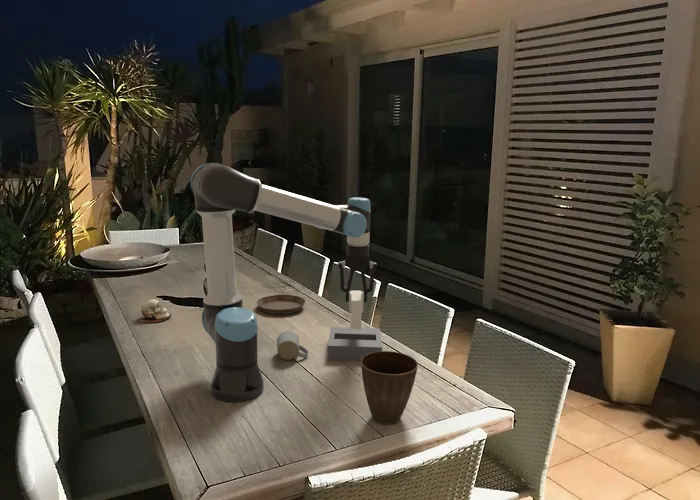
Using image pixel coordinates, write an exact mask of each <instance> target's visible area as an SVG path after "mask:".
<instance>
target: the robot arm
mask: <svg viewBox="0 0 700 500" xmlns="http://www.w3.org/2000/svg"><path fill="white" fill-rule="evenodd" d="M190 188H191V192H192V194H193V195H194V204H195V206H194V207H195V212H196V213H197V214H199V215H200V216H201V222H202V223H201V225H202V237H203V248H204V249H203V250H204V261H205V274H206V286H207V288H206V289H207V295H206V296H205V297H204V298H203V299H202V300H203V301H202V302H203V309H202V313H201V323H202V326H203V329H204V330H205V332H206V333H207V334H208V335H209V336H210V339H212V341H213V342H214V344H215V359H216V360H215V362H216V363H215V364H216V367H215V368H214V369H215V370H214V373H213V376H212V378H211V383H210V394H211V396H212V397H213V398H215V399H217V400H219V401H223V402H229V403H230V402H231V403H235V402H236V403H238V402H245V401H246V402H247V401H250V400H252V399H256V398H257V397H259V396H260V395H261V394H263V392H264V388H265V387H264V379H263V375H262V373H261V370H260V368H259V364H258V329H259V326H258V325H259V324H258V319H257V315H256V314H255V313H254V311H252V310H250V309H249V308H244V306H243V295H241V294H240V293H239V292H238V291H237V289H238V288H237V277H236V263H235V261H236V260H235V249H234V248H235V245H234V234H233V233H234V232H233V230H234V229H233V214H234V213H235V212H236V211H242V212H245V213H248V214H250V213H252V212H254V211H256V212H260V213H263V214H268V215H272V216H274V217H279V218H282V219H286V220H289V221H293V222H297V223H302V224H305V225H309V226H312V227H315V228H317V229H318V230H319V229H320V230H328V231H332V232H334V233H339V234H342V235H346V243H347V245H346V257H345V259H344V260H342V261H338V262H337V266H338V269H339V277H340V279H339V281H340V291H341V292H344V293H345V302H346V303H348V312H349V313H351V295H352V292H351V286H352V283H353V282H352V281H353V278H354V273H355V272H360V276H361V281H362V282H361V283H362V288H363V291H361V296H362V313H363V312H364V303H367V302H368V294H369V293H372V292H373V291H374V281H375V273H376V272H375V271H376V269H377V267H378V264H377V262H375V261H374V262H373V261H371V259H370V245H369V244H370V235H371V234H370V233H371V231H370V229H371V213H372V212H371V211H372V210H371V209H372V208H371V201H370V199H369V198H365V197H349V198H348V201H347V204H331V203H327V202H323V201H320V200H316V199H315V198H310V197H307V196H305V195H304V196H303V195H299V194H296V193H293V192H289V191H286V190H283V189H279V188H277V187H273V186H269V185H267V184H263V183H261V181H260V179H258V178H255V177H251V176H250V175H247V174H244V173H242V172H240V171H238V170H236V169H234V168H233V167H230V166H227V165H223V164H221V163H218V162H209V163H205V164H201V165H200V166H198V167H197V168H196V169H195V170H194V171H193V172H192V175H191V178H190ZM346 266H348V269H349V273H348V279H347V283H346V286H345V273H344V269H345V267H346ZM368 266H369V268H370V273H369V282H368V283H369V284H368V287H367V280H366V274H365V270H366V269H367V267H368Z"/></svg>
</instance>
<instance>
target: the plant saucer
mask: <svg viewBox="0 0 700 500" xmlns="http://www.w3.org/2000/svg"><path fill="white" fill-rule="evenodd" d="M305 304H306V300H305V299H304V298H303V297H301V296H298V295H292V294H291V295H290V294H273V295H268V296H264V297H262V298H259V299H258V300H257V301H256V305H257V306H258V307H259V309H260V310H262V311H263V312H264V313H268V314H271V315H288V313H289V314H292V313H293V312H294V313H296V312H298V311H300V310H301V309H302V308H303V307H304V305H305ZM294 313H293V314H294Z"/></svg>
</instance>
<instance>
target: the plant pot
mask: <svg viewBox="0 0 700 500" xmlns="http://www.w3.org/2000/svg"><path fill="white" fill-rule="evenodd" d="M418 364H419V363H418V361H417V360H416V359H415V358H414V357H412V356H411V355H408V354H406V353H403V352H397V351H392V350H382V351H378V352H372V353H369V354H367V355H365V356H363V357H362V359H361V361H360V367H361V375H362V377H361V378H362V382H363V387H364V388H363V389H364V393H365V398H366V402H367V405H368V408H369V411H370V415H371V417H372V419H373V421H374V422H376V423H379V424H381V425H394V424H397V423H398V422H399V421H400V419H401V418H402V416H403V414H404V411H405V409H406V407H407V405H408V402H409V399H410V396H411V393H412V391H413V387H414V385H415V380H416V376H417V373H418V367H419V365H418Z"/></svg>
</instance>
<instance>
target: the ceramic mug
mask: <svg viewBox="0 0 700 500" xmlns="http://www.w3.org/2000/svg"><path fill="white" fill-rule="evenodd" d="M300 351H301V352H300ZM276 352H277V354H278V356H279V357H280V358H281V359H282V360H285V361H291V360H293V359H294V360H295V358H296V357H300V358H302V359H303V358H307V357H308V355H309V351H308V349H307V348H305V347H304V346H303V345H300V340H299V336H298V335H297V334H296V333H295V332H292V331H290V330H288V331H283V332H282V333H280V334H278V337H277V338H276Z"/></svg>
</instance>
